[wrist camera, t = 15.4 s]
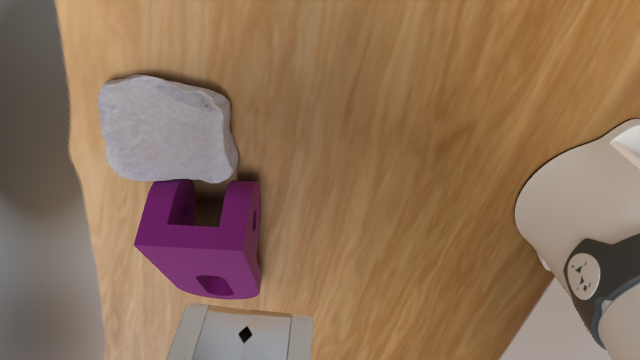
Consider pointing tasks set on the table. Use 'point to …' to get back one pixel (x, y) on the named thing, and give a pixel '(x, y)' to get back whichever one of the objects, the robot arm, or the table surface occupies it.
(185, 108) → the stone block
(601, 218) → the robot arm
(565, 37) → the table surface
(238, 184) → the mounting bracket
